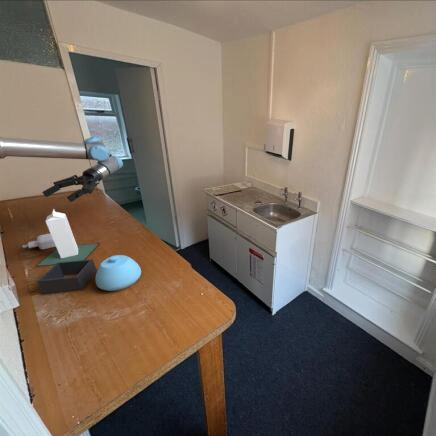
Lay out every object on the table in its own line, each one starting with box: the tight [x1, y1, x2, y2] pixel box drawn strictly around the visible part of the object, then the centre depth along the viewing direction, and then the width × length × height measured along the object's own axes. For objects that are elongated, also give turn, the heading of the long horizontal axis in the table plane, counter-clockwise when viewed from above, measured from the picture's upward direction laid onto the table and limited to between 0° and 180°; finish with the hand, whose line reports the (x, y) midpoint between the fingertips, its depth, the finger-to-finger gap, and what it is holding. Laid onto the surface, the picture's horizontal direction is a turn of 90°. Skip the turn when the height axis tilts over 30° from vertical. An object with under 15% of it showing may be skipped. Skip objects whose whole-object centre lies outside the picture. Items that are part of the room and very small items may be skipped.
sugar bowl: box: [95, 254, 142, 292], centre depth 93 cm, size 15×15×12 cm
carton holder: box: [36, 258, 98, 295], centre depth 92 cm, size 12×12×6 cm
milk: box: [45, 208, 78, 258], centre depth 105 cm, size 6×6×22 cm
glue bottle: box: [22, 232, 56, 251], centre depth 114 cm, size 5×9×15 cm
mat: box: [36, 243, 99, 267], centre depth 109 cm, size 16×16×1 cm
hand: (56, 197), depth 107 cm, fingers open, 13 cm apart
